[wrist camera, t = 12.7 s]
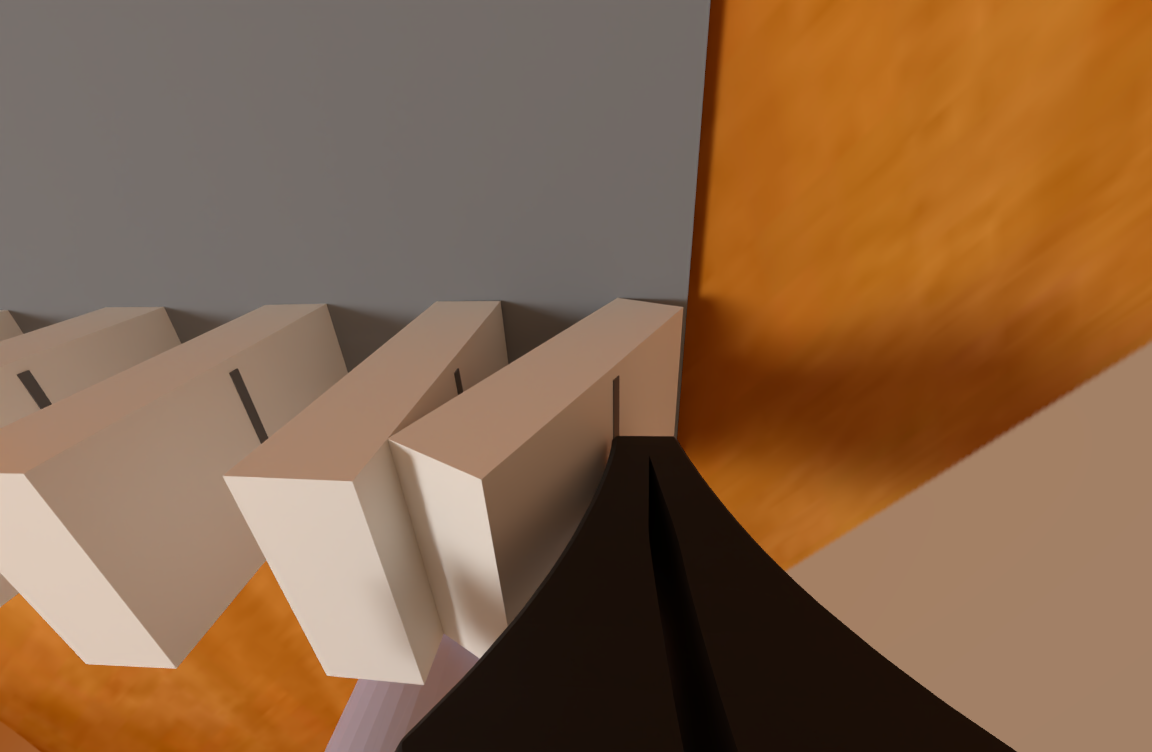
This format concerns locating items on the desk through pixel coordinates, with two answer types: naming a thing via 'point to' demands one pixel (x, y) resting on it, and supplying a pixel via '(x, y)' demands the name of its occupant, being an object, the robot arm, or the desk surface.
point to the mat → (349, 159)
